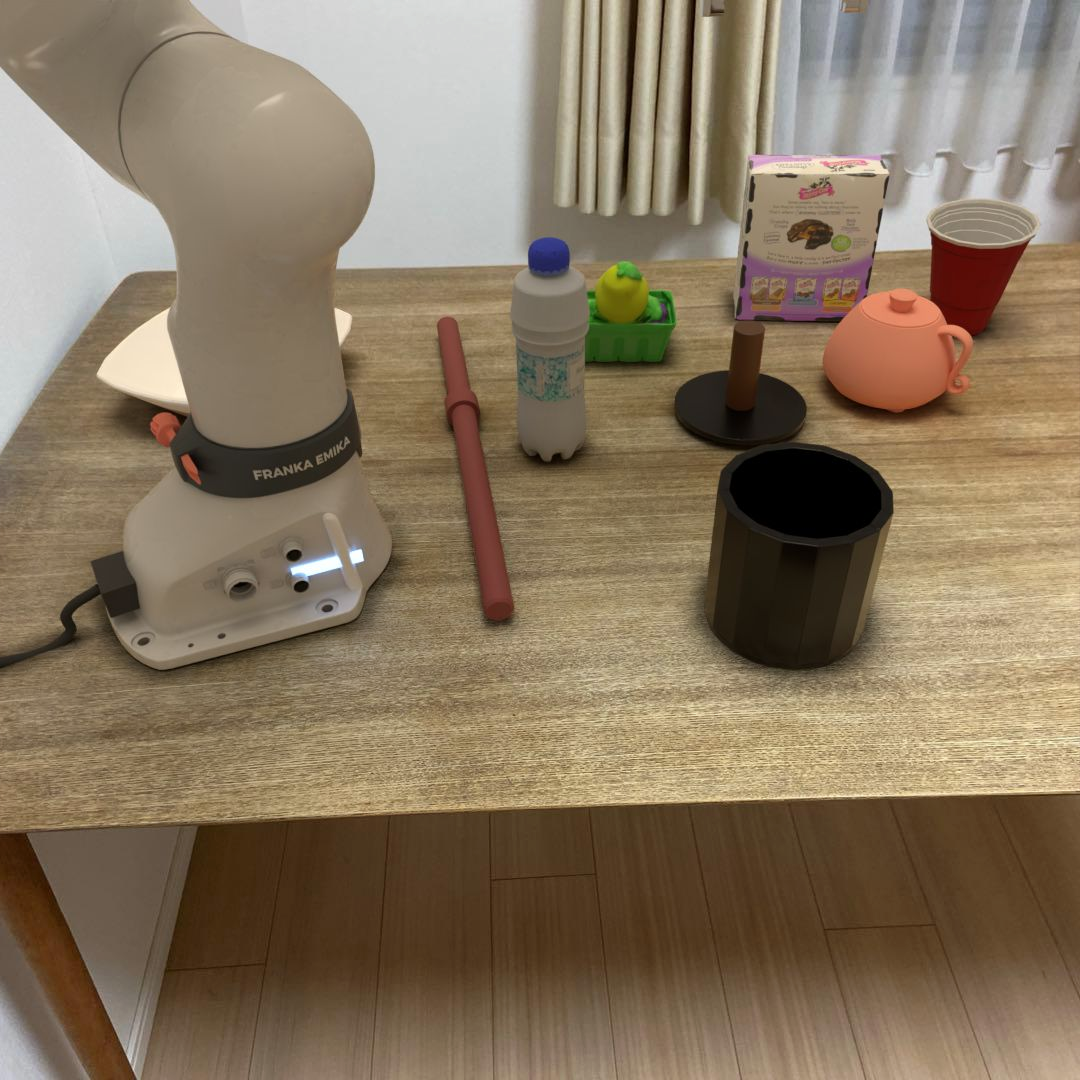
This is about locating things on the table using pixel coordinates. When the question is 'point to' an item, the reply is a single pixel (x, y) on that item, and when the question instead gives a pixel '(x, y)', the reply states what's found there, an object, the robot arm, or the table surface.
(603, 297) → the fruit basket
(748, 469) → the faceted dark cup
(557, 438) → the bottle
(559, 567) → the table surface
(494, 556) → the red brown collared rod
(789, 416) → the lid
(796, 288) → the candy box
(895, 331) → the sugar bowl
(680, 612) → the table surface
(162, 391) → the bowl
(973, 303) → the plastic cup
